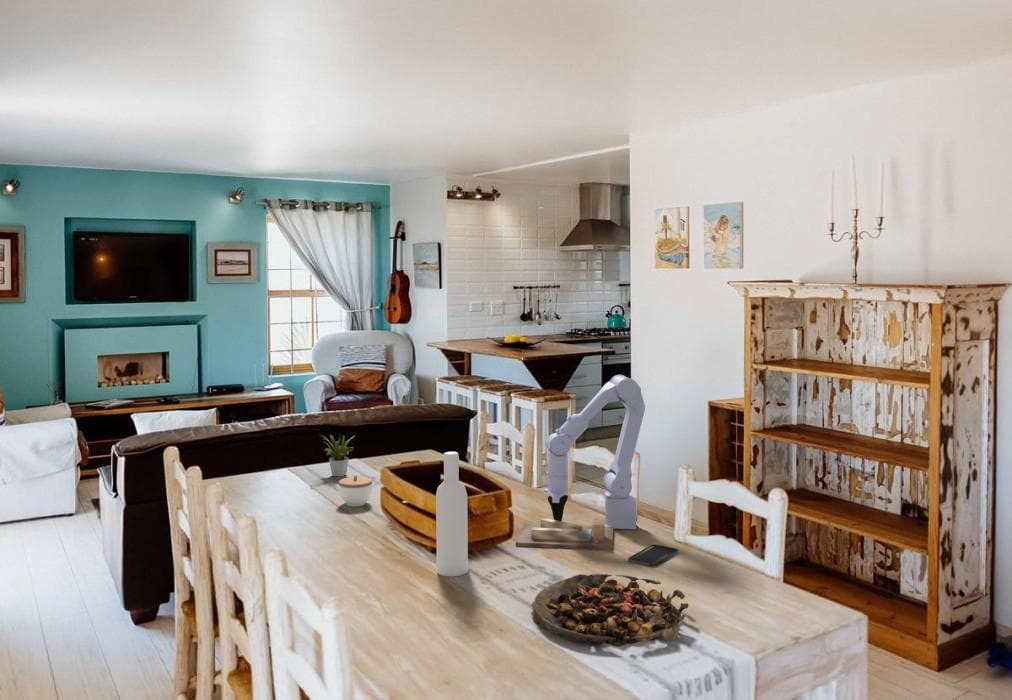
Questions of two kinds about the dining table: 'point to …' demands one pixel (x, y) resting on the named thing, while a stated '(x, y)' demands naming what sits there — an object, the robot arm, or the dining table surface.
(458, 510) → the bottle
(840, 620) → the dining table surface
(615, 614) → the food dish
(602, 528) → the brown rectangular block
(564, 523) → the bar
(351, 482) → the lidded jar
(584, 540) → the tongs base
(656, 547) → the phone
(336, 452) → the house plant
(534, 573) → the dining table surface
